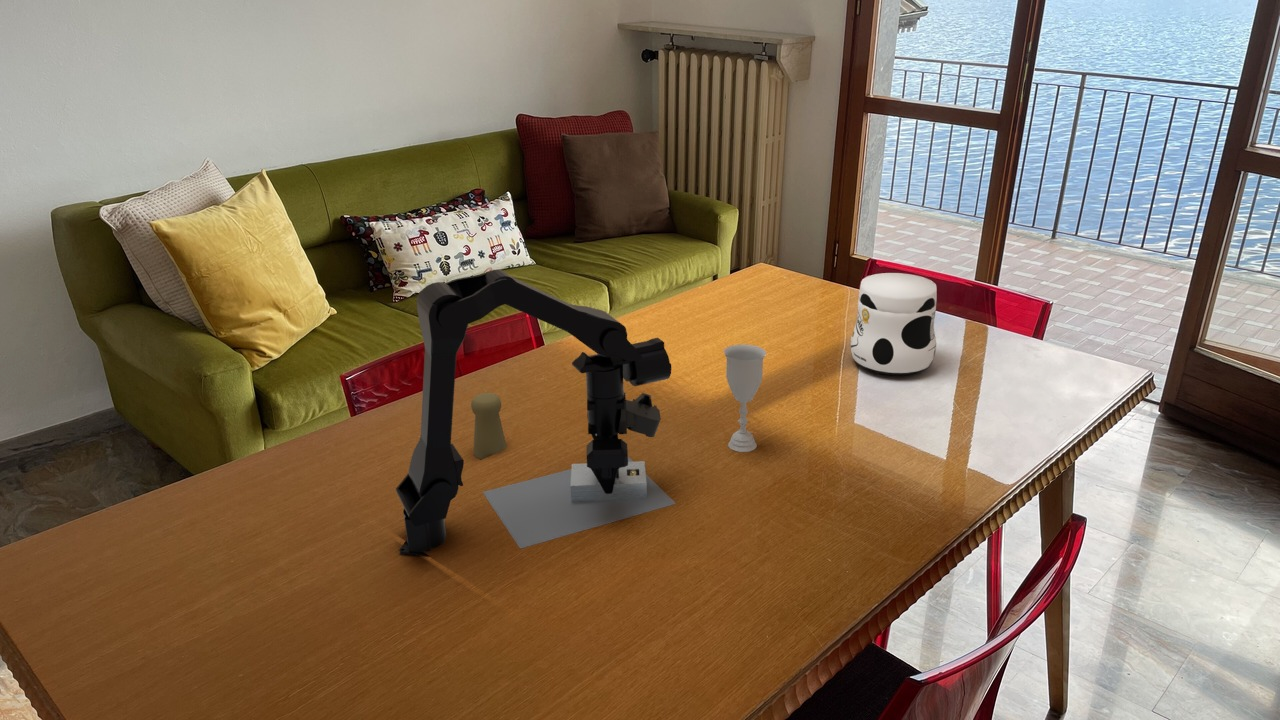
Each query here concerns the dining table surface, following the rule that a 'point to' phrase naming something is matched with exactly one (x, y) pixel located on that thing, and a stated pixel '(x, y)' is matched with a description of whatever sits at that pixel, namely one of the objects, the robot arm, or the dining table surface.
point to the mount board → (562, 508)
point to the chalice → (744, 387)
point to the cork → (487, 425)
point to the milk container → (895, 324)
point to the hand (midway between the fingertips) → (608, 478)
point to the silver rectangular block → (624, 487)
